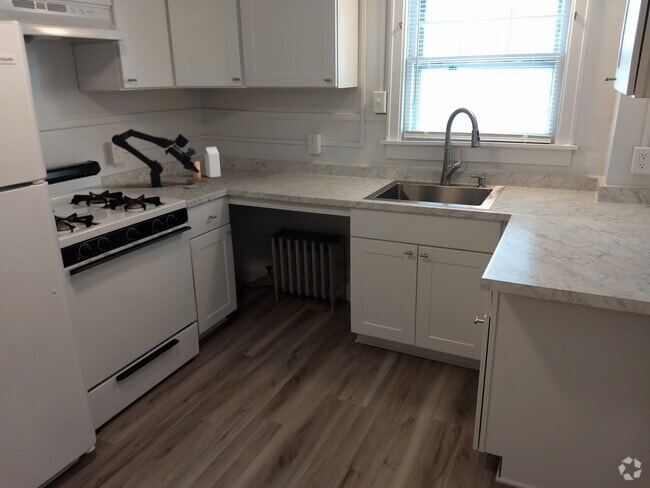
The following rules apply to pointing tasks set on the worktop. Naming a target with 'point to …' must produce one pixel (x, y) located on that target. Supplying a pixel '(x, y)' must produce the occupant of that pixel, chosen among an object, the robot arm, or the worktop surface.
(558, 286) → the worktop surface
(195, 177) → the peach rounded cylinder
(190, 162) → the robot arm
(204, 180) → the walnut socket block
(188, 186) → the slate rubber pad
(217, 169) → the milk carton
